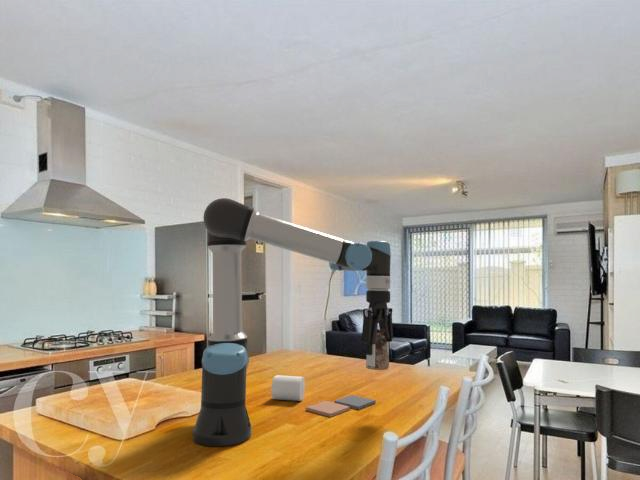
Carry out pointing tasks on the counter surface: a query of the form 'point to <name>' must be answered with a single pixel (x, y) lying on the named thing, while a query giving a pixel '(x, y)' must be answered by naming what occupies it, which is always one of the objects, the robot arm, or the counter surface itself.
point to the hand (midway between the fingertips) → (377, 363)
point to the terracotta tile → (327, 408)
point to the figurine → (380, 352)
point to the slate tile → (355, 402)
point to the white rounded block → (288, 388)
